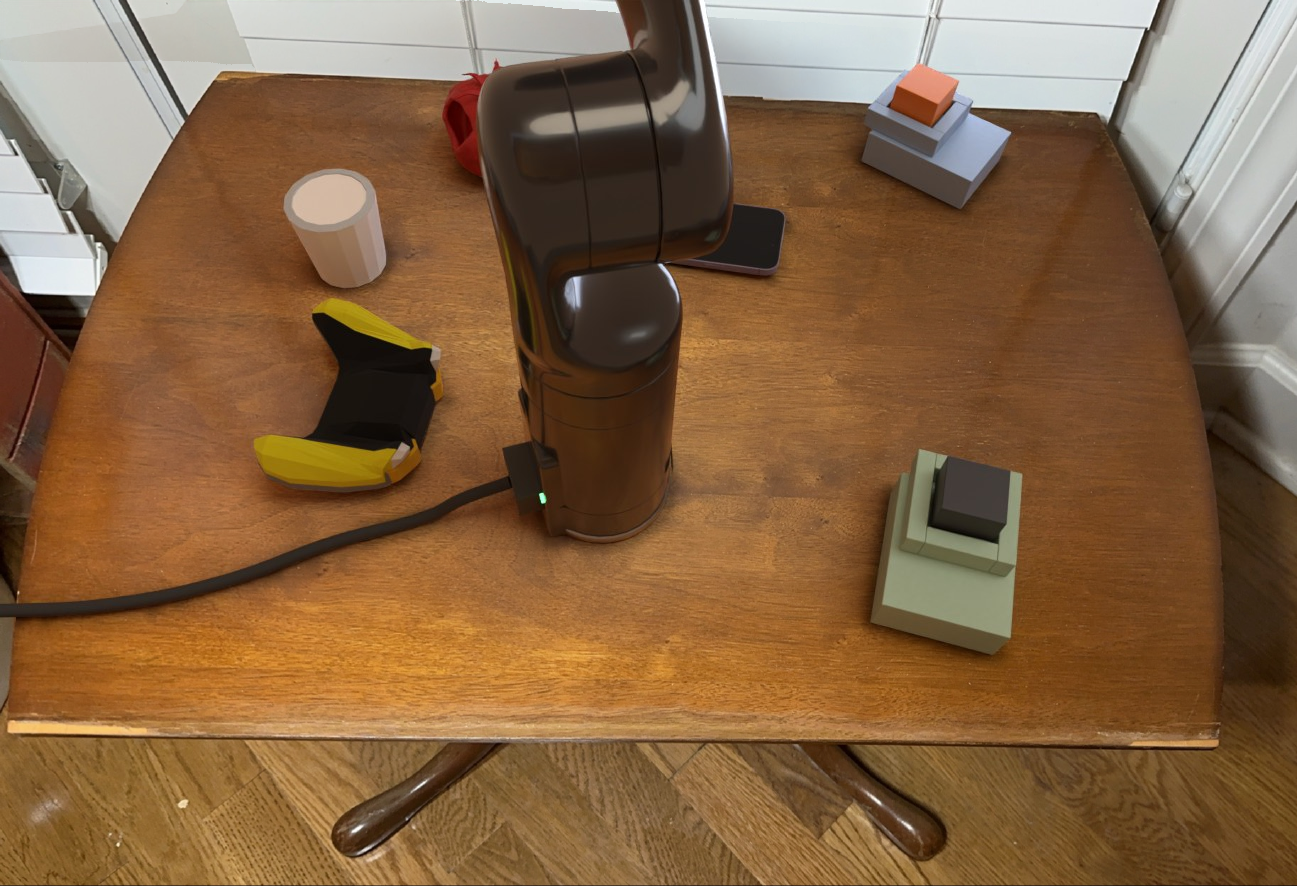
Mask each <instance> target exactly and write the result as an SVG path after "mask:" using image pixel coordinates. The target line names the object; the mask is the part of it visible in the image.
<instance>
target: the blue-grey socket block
mask: <svg viewBox="0 0 1297 886" xmlns="http://www.w3.org/2000/svg"><path fill="white" fill-rule="evenodd" d="M910 71H911V70H907V69H904V70H902V72H901V73H900V74H898V76H897V77H896V78H895V79H894V80H893V81H892V82H891V83H890V84H889V85H888V86H887V87H886V88H885V90H884V91H882V92H881V94H880V95H879V96H878V97H877V98H876V99H875V100H874V101H873V102H872V103H871V104H870V105H868V107H867V109H866V113H865V116H864V119H863V123H862V125H863V126H865V127H867V128H869V129H871V130H870V131H869V133H868V136H867V140H866V143H865V147H864V150H863V154H862V157H861V162H862V163H864V164H866V165H869V166H870V167H871V168H874V169H877V170H878V171H881V172H883V173H885V174H887V175H889V176H891V177H893V178H895V179H896V180H899V181H901V182H903V183H905V184H907V185H909V186H911V187H913V188H915V189H917V190H919V191H921V192H923V193H925V194H927V195H929V196H932V197H934V198H936V199H937V200H940V201H942V202H943V203H946V204H948V205H950V206H952V207H954V208H957V210H961V209H962V208H963V207H964V205H966V203H967V201H969V199H970V198H971V197H972V195H973V194H974V193H975V192H976V190H977V189H978V188H979V186H980V185H981V184H982V183H983V181H984V180H985V179H986V178H987V177H988V176H989V174H990V173H991V171H992V170H993V169H994V168H995V166H996V165H997V164H998V163H999V162H1000V160H1001V158H1002V155H1003V153H1004V151H1005V149H1006V146H1007V144H1008V142H1009V140H1010V137H1011V134H1012V132H1011V131H1010V130H1008V129H1005V128H1003V127H1001V126H998V125H996V124H994V123H992V122H989V121H987V120H985V119H983V118H981V117H979V116H976V115H974V114H972V113H970V111H971V108H972V106H973V104H974V99H973V98H970V97H968V96H966V95H963V94H961V93H959V92H957V91H955V94H954V97H953V100H952V102H951V105H950V106H949V107H948V109H947V110H946V111H945V112H944V113H943V114H942V115H941V117H940V118H939V119H938V120H937V121H936V122H935V123H934V125H933V126H932V127H928V126H926V125H924V124H922V123H920V122H918V121H915V120H913V119H911V118H909V117H907V116H905V115H902V114H900V113H898V112H896V111H894V110H892V109H890V106H891V102H892V99H893V96H894V92H895V89H896V86H897V84H898V83H899V82H900V81H901V80H902V79H903V78H904V77H905V76H906V75H907V74H908V73H909V72H910Z"/></svg>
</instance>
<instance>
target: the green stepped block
mask: <svg viewBox="0 0 1297 886" xmlns="http://www.w3.org/2000/svg"><path fill="white" fill-rule="evenodd" d="M947 456H948V455H945V454H941V453H936V452H934V451H929V450H925V449H920V448H919V449H917V451H916V453H915V455H914V458H913V459H912V461H911V465H910V470H909V471H910V472H909V473H907V472H903V471H902V472H901V473H900V475H899V477H898V478H897V481H896V483H895V484H894V487H892V490H891V492H890V494H889V500H888V506H887V513H886V519H885V525H884V532H883V538H882V545H881V551H880V557H879V565H878V570H877V577H876V582H875V589H874V595H873V602H872V609H871V616H870V621H869V622H870V623H871V624H874V625H878V626H882V627H886V628H890V629H892V630H897V631H901V632H905V633H908V634H913V635H916V636H920V637H923V638H927V639H932V640H935V641H938V642H942V643H946V644H950V645H954V646H957V647H961V648H965V649H969V650H972V651H976V652H980V653H983V654H987V655H991V656H994V655H995V654H996V653H997V652H998V651H999V650H1000V649H1001V648H1002V647H1004V645H1005V644H1006V643H1007V642H1008V641H1009V640H1010V639H1011V638H1012V625H1013V624H1012V623H1013V621H1012V620H1013V609H1014V595H1015V579H1016V567H1017V560H1018V547H1019V546H1018V545H1019V532H1020V519H1021V518H1020V516H1021V501H1022V487H1023V474H1022V473H1019V472H1016V471H1012V470H1010V471H1011V475H1010V488H1009V501H1008V514H1007V524H1006V526H1005V527H1004V528H1003V529H1002V531H1001V532H1000V533H999V534H998V536H997V537H996V538H995V540H994V541H993V542H990V541H986V540H982V539H978V538H974V537H970V536H966V535H962V534H958V533H954V532H950V531H946V530H942V529H938V528H934V527H931V526H930V523H931V515H932V507H933V499H934V491H935V483H936V475H937V473H938V472H939V470H940V468H941V467H942V465H943V463H944V462H945V460H946V458H947Z"/></svg>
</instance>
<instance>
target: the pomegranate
mask: <svg viewBox="0 0 1297 886" xmlns="http://www.w3.org/2000/svg"><path fill="white" fill-rule="evenodd" d="M501 67H502V65H500V63H499V61H498V60H497V58H495V60H494V62H493V68H492V71H491V72H490V73H482V74H479V73H475V72H467V73H461V75H462V76H471V78H468V79H464V80H460V81H458V82H457V83H455V84H454V85H453V86H451V88H450V89H449V91H448V94H447V97H446V98H445V100H444V104H443V108H442V114H441V118H442V121H443V124H444V125H445V129H446V131H447V134H448V137H449V140H450V142H451V147H452V152H453V154H454V157H455V159H456V161H457V162H458V163H459V165H461V166H462V167H463V168H464V169H465V170H466V171H468V172H469V173H471V174H473V175H475V176H477V177H480V178H482V174H481V169H480V163H479V156H478V145H477V134H476V111H477V103H478V98H479V95H480V92H481V88H482V86H483V84H484V82H485V80H486V78H487V77H488V76H489V75H490V74H491V73H492V72H493V71H495V70H496V69H498V68H501Z"/></svg>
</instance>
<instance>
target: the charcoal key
mask: <svg viewBox="0 0 1297 886" xmlns="http://www.w3.org/2000/svg"><path fill="white" fill-rule="evenodd" d="M946 456H947V458H946V460H945V462H944V463H943V465H942V467H941V468H940V470H939V472H938V473H937V475H936V483H935V491H934V499H933V507H932V515H931V523H930V526H931V527H934V528H938V529H942V530H946V531H950V532H954V533H958V534H962V535H966V536H970V537H974V538H978V539H982V540H986V541H990V542H993V541H994V540H995V538H996V537H997V536H998V534H999V533H1000V532H1001V531H1002V529H1003V528H1004V527H1005V526H1006V524H1007V514H1008V501H1009V488H1010V475H1011V471H1012V470H1010V469H1006V468H1002V467H998V466H994V465H990V464H986V463H982V462H977V461H973V460H970V459H965V458H960V457H957V456H952V455H946Z"/></svg>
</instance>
